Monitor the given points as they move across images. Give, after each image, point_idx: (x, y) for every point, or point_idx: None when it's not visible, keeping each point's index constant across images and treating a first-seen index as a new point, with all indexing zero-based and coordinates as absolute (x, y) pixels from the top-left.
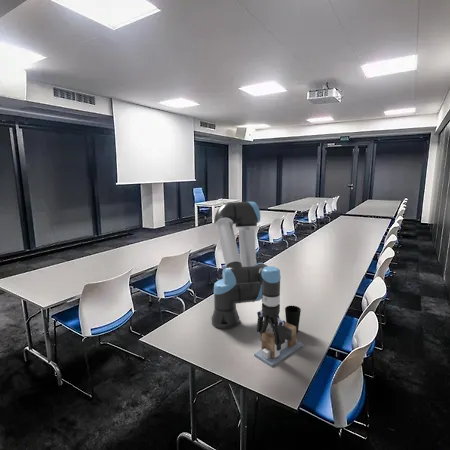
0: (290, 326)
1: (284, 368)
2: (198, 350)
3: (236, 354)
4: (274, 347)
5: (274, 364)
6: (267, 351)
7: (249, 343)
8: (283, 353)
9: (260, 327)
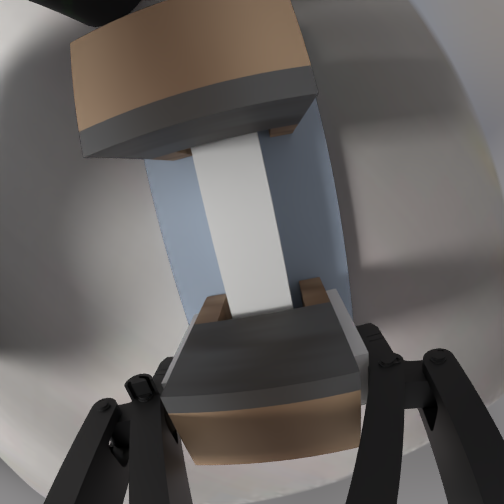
0: (222, 30)
1: (407, 305)
2: None
3: None
4: None
5: None
6: None
7: (96, 331)
8: (316, 230)
9: (95, 427)
